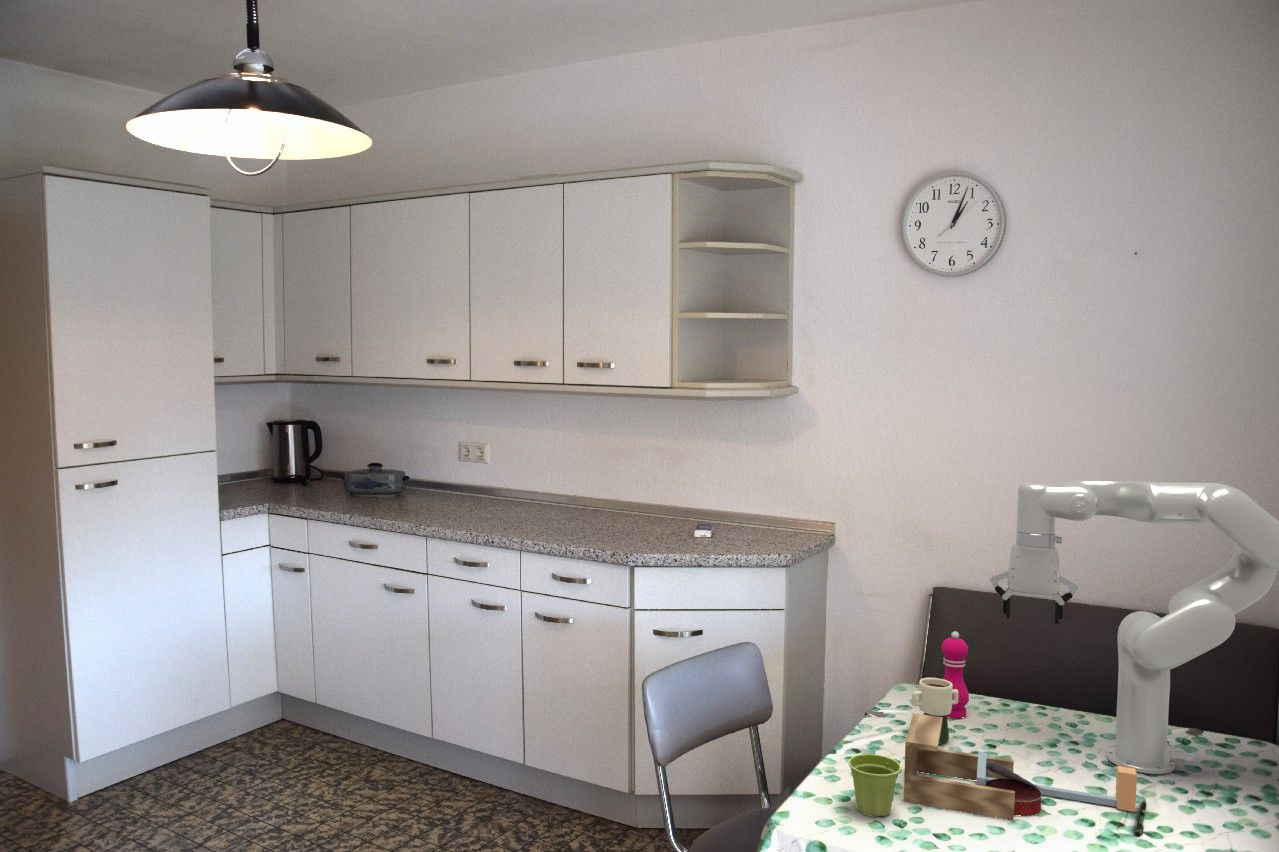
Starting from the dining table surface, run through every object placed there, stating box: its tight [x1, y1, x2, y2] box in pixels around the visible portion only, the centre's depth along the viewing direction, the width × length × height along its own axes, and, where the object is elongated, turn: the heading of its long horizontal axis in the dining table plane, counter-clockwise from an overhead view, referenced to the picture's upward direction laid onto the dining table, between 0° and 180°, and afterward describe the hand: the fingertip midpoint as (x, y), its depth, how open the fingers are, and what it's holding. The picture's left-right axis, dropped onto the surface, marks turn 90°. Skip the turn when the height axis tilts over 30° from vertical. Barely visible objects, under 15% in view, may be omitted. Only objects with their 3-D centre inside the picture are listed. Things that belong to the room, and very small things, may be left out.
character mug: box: [911, 677, 958, 744], centre depth 207 cm, size 11×7×13 cm, turn 101°
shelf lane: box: [902, 712, 1015, 822], centre depth 180 cm, size 19×16×12 cm
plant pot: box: [847, 753, 902, 818], centre depth 172 cm, size 9×9×9 cm
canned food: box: [985, 762, 1043, 817], centre depth 176 cm, size 11×10×10 cm
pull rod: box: [975, 751, 1138, 813], centre depth 175 cm, size 28×14×7 cm, turn 69°
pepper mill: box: [941, 630, 970, 719], centre depth 223 cm, size 7×7×20 cm
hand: (1031, 619), depth 202 cm, fingers open, 9 cm apart
